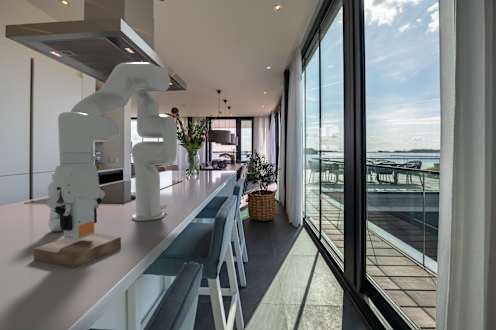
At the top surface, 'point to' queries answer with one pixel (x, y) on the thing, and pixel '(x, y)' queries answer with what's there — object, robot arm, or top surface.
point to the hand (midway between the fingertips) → (79, 225)
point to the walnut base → (76, 250)
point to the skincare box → (81, 219)
